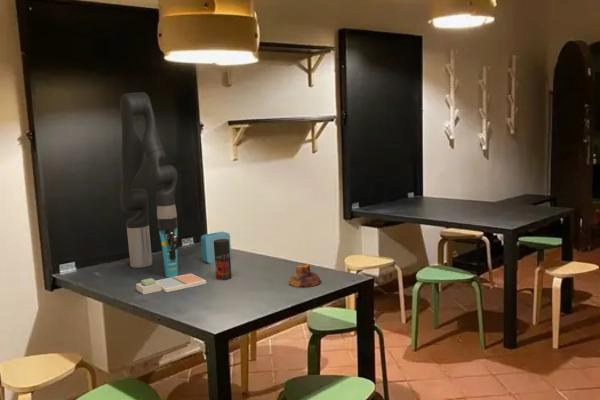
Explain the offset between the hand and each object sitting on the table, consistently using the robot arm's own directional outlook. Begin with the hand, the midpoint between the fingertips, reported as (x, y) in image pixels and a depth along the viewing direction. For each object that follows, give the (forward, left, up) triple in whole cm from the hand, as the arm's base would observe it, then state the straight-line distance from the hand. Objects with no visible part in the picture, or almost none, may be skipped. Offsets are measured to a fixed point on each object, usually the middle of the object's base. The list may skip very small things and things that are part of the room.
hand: (170, 258), depth 253 cm
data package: (-10, +25, -8) cm, 28 cm away
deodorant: (+18, +14, -7) cm, 24 cm away
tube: (0, 0, -7) cm, 7 cm away
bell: (+46, +33, -8) cm, 57 cm away
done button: (+13, -15, -6) cm, 20 cm away
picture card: (+13, -2, -7) cm, 15 cm away
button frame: (+13, -14, -7) cm, 21 cm away
